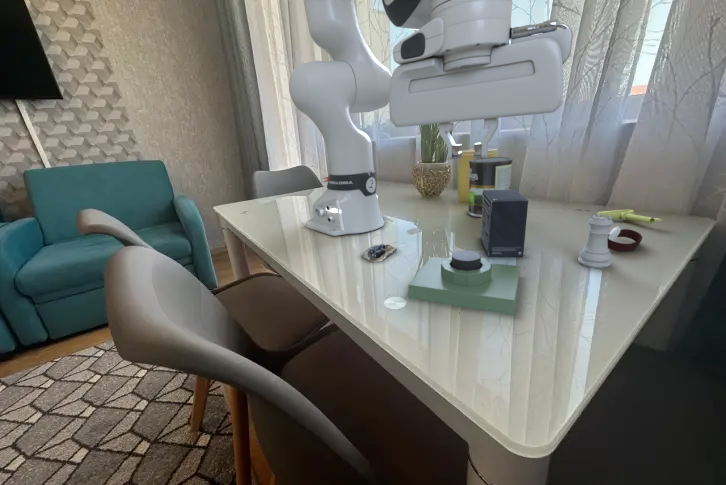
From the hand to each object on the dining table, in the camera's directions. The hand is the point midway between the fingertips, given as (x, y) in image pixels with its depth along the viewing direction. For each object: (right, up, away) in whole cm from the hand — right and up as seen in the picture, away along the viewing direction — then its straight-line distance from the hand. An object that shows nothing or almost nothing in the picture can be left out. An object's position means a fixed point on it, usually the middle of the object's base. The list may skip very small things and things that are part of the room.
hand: (467, 158), depth 42 cm
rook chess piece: (+24, -15, +10) cm, 30 cm away
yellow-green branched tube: (+44, -5, +28) cm, 52 cm away
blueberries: (-10, -14, +22) cm, 28 cm away
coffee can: (+20, -3, +44) cm, 49 cm away
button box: (+2, -18, +6) cm, 19 cm away
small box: (+13, -12, +20) cm, 27 cm away
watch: (+33, -12, +15) cm, 38 cm away
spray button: (+1, -15, +5) cm, 16 cm away
